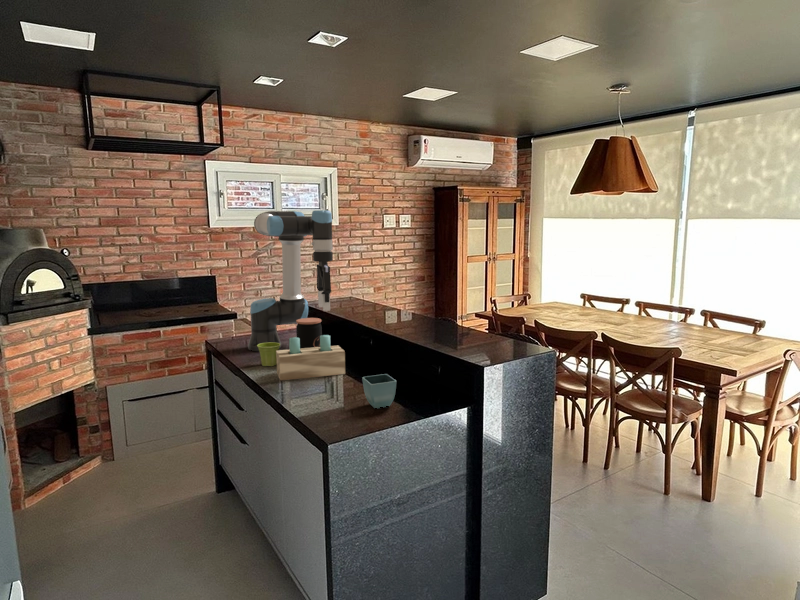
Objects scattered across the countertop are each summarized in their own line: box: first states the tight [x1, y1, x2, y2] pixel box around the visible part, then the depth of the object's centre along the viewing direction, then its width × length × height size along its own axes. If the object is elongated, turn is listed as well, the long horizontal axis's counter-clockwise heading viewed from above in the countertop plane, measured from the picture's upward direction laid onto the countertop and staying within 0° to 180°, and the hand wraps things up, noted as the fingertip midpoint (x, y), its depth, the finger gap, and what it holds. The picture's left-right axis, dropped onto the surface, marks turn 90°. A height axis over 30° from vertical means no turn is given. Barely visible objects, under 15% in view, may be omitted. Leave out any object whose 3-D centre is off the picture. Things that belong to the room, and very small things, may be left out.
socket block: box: [276, 345, 346, 381], centre depth 201 cm, size 11×25×9 cm, turn 110°
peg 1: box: [288, 336, 300, 354], centre depth 198 cm, size 4×4×8 cm
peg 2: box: [320, 334, 331, 352], centre depth 202 cm, size 4×4×8 cm
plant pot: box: [257, 342, 280, 367], centre depth 214 cm, size 9×9×9 cm
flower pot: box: [361, 373, 397, 409], centre depth 164 cm, size 9×9×9 cm
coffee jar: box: [295, 317, 323, 349], centre depth 219 cm, size 11×11×18 cm
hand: (324, 308), depth 200 cm, fingers open, 9 cm apart
